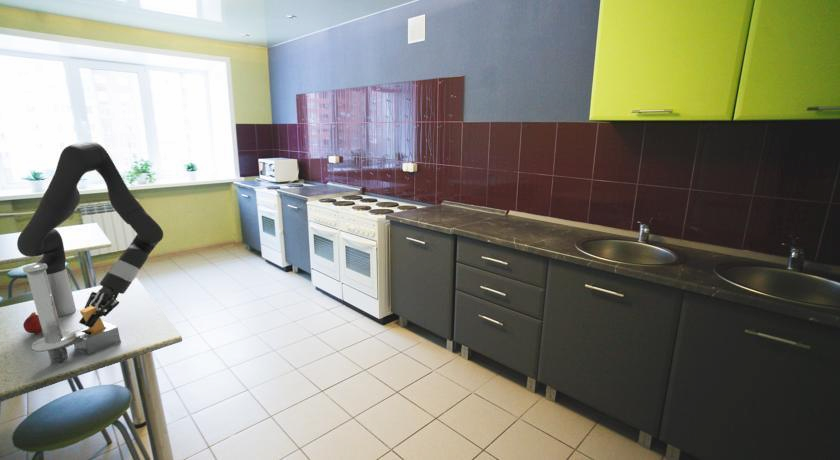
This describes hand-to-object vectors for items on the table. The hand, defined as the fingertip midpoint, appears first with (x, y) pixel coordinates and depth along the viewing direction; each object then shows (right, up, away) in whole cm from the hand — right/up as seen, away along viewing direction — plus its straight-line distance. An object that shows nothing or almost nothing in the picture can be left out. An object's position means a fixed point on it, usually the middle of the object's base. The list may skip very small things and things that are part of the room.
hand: (85, 325), depth 125 cm
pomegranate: (-26, -6, +11) cm, 29 cm away
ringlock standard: (-2, -9, -1) cm, 9 cm away
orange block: (+1, -3, +4) cm, 5 cm away
